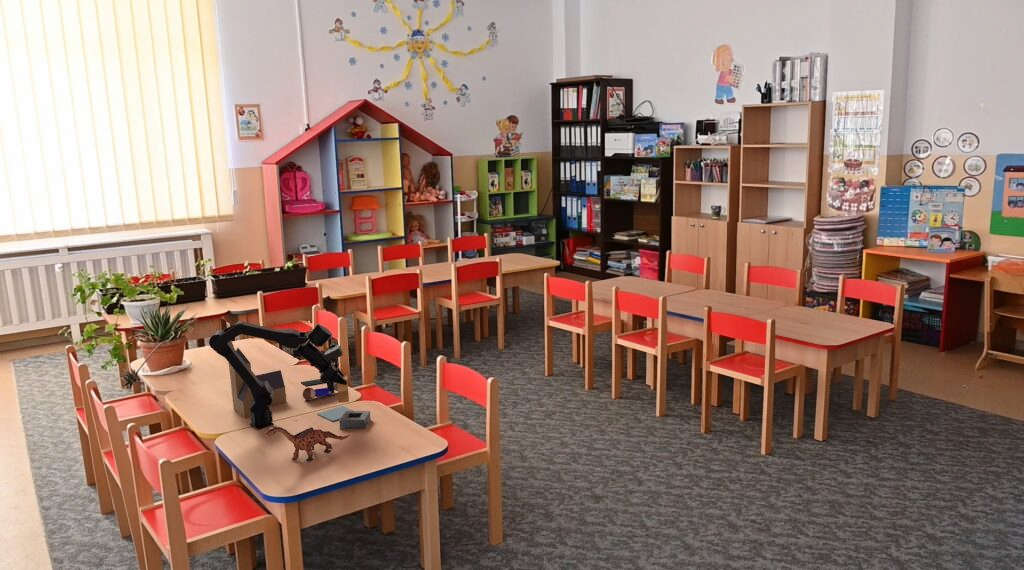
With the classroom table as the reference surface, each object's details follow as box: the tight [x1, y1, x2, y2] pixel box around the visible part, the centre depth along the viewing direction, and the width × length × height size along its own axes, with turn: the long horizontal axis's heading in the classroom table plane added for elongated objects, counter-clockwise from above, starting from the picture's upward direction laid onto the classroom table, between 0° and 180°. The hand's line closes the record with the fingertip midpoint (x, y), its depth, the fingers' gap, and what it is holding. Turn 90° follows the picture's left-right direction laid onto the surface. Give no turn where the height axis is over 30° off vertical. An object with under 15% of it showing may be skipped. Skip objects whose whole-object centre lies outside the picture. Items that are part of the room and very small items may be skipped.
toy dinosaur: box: [265, 426, 351, 463], centre depth 258 cm, size 8×30×15 cm, turn 143°
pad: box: [316, 405, 354, 423], centre depth 298 cm, size 11×11×1 cm
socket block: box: [338, 410, 372, 430], centre depth 287 cm, size 9×9×4 cm
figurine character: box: [300, 378, 338, 401], centre depth 317 cm, size 7×8×15 cm
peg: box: [337, 375, 350, 404], centre depth 292 cm, size 4×4×9 cm
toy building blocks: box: [228, 347, 287, 419], centre depth 305 cm, size 12×19×25 cm, turn 127°
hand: (346, 382), depth 292 cm, fingers closed on peg, 4 cm apart
